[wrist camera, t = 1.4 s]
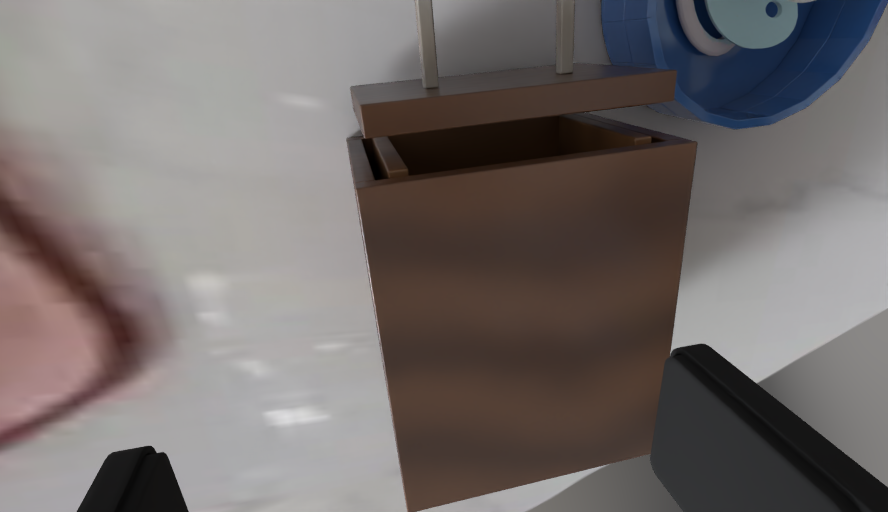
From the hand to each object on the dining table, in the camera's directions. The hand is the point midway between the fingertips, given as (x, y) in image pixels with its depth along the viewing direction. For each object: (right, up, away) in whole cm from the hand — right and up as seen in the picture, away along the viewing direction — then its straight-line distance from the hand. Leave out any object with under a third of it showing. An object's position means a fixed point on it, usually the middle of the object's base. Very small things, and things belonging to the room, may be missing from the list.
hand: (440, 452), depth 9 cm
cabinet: (+2, +4, +22) cm, 22 cm away
